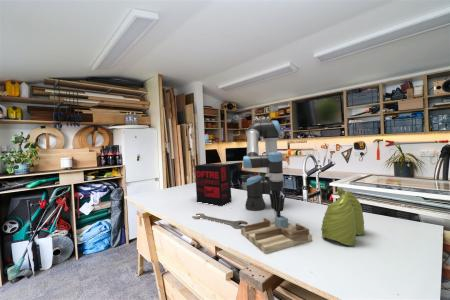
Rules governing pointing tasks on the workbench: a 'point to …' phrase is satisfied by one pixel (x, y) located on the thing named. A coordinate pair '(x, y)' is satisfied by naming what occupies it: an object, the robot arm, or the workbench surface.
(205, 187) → the product box
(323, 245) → the workbench surface
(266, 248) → the tan flat ridged piece
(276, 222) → the block
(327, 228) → the lungs
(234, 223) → the wrench
